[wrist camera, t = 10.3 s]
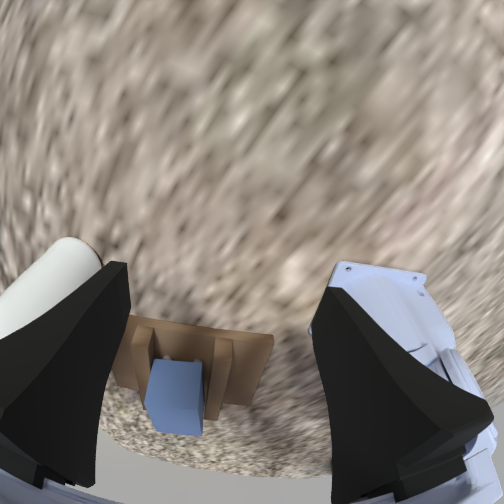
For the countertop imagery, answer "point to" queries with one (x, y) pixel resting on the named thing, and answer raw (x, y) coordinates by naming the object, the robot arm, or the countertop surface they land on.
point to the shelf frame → (194, 359)
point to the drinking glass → (46, 283)
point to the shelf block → (176, 397)
